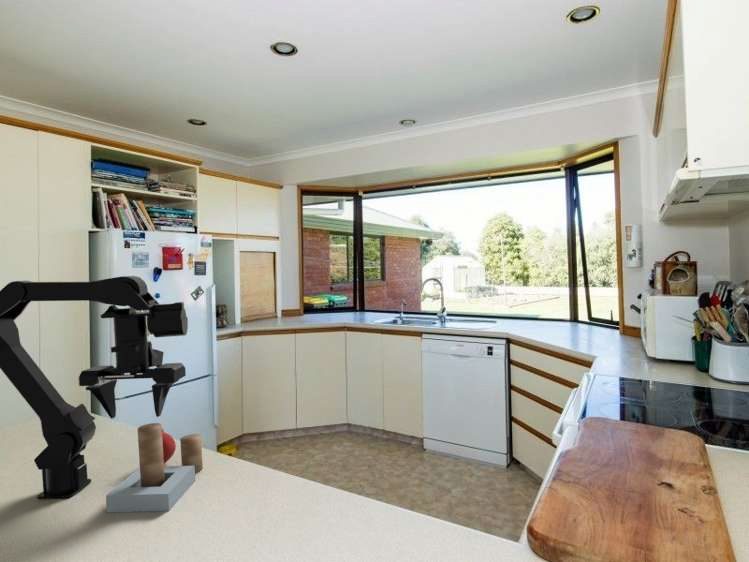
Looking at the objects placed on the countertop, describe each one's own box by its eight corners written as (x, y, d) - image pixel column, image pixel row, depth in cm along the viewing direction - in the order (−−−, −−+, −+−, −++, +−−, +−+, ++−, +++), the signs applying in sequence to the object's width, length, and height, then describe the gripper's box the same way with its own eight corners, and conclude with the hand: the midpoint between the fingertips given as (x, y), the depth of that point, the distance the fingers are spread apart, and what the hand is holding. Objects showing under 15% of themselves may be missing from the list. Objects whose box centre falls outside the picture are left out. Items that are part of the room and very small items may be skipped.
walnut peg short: (178, 475, 92) (176, 441, 92) (187, 466, 96) (185, 434, 96) (198, 474, 92) (196, 441, 92) (205, 466, 96) (204, 433, 96)
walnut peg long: (137, 501, 82) (133, 431, 82) (148, 490, 86) (144, 423, 86) (159, 500, 82) (154, 430, 82) (169, 489, 86) (165, 422, 86)
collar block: (106, 512, 79) (105, 495, 79) (140, 482, 90) (139, 467, 90) (169, 510, 79) (168, 493, 78) (195, 480, 90) (194, 465, 89)
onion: (164, 472, 94) (162, 434, 94) (140, 470, 95) (138, 433, 95) (181, 460, 99) (179, 424, 99) (158, 458, 101) (156, 423, 100)
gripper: (194, 331, 97) (198, 402, 98) (109, 334, 97) (113, 405, 98) (170, 340, 86) (175, 420, 87) (74, 343, 86) (79, 424, 87)
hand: (135, 416), depth 90 cm, fingers open, 9 cm apart
